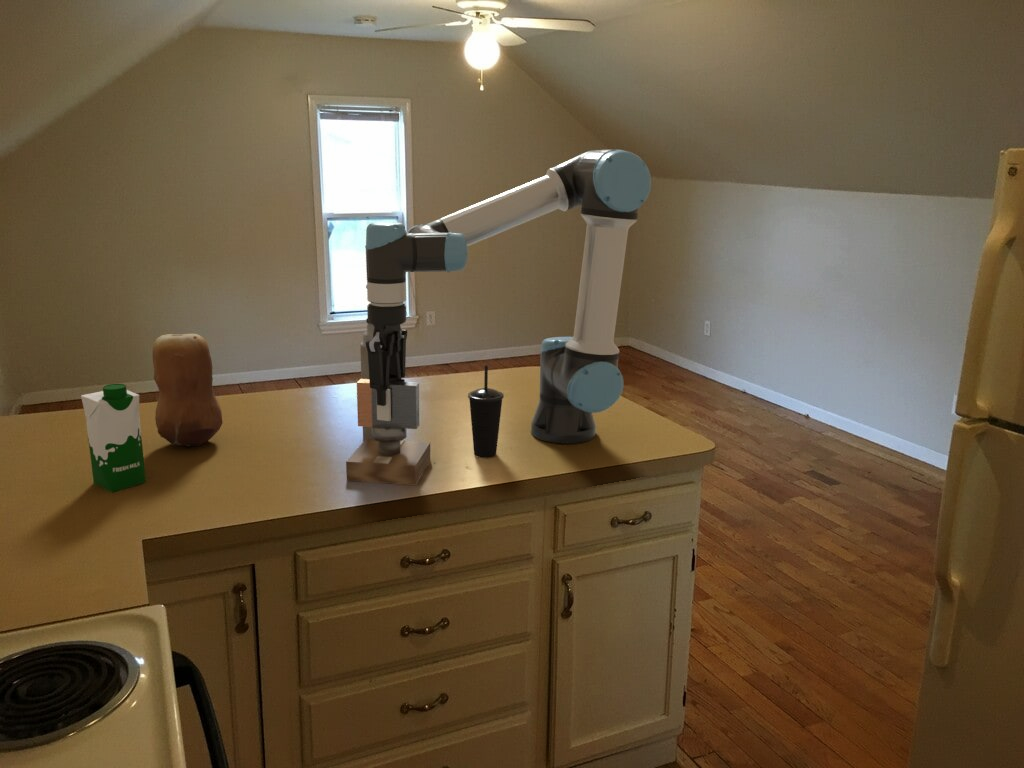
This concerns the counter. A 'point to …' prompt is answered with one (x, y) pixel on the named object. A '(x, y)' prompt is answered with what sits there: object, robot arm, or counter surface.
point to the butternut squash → (185, 390)
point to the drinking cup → (485, 418)
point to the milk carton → (114, 437)
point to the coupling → (401, 410)
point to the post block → (388, 462)
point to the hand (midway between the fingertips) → (388, 416)
